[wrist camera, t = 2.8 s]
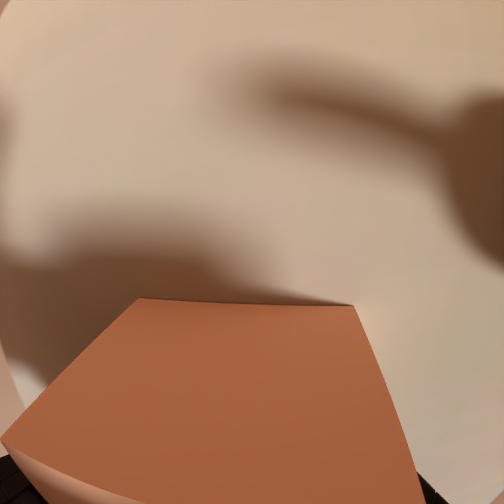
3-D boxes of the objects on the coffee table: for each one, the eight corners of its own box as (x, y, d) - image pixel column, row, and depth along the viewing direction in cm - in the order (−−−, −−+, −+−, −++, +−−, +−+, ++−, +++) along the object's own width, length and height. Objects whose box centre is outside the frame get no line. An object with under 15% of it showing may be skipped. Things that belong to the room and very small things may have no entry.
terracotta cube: (327, 449, 10) (334, 593, 4) (168, 437, 10) (113, 563, 4) (353, 305, 8) (427, 507, 2) (138, 297, 9) (-1, 438, 3)
